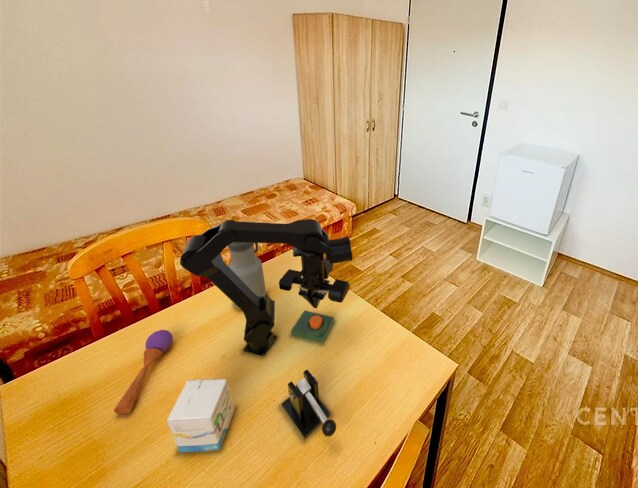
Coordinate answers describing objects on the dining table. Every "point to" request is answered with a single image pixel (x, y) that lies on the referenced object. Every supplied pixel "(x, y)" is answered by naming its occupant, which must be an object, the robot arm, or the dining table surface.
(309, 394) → the lever
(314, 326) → the button
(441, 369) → the dining table surface
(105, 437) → the dining table surface
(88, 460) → the dining table surface
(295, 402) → the bracket
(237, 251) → the water bottle
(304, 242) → the robot arm
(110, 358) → the dining table surface
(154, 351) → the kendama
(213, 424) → the ink box
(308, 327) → the button panel
